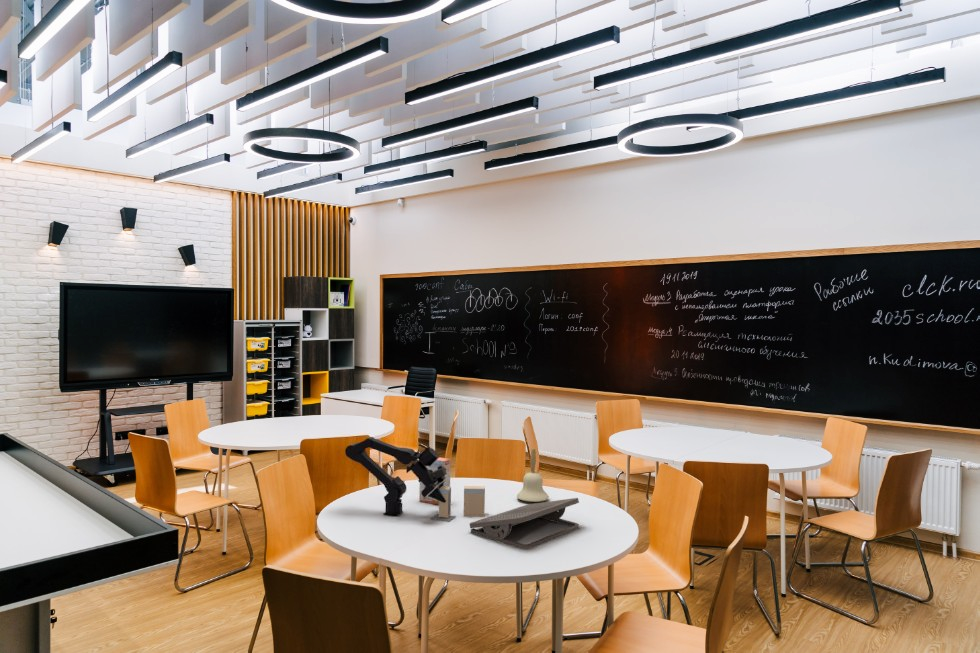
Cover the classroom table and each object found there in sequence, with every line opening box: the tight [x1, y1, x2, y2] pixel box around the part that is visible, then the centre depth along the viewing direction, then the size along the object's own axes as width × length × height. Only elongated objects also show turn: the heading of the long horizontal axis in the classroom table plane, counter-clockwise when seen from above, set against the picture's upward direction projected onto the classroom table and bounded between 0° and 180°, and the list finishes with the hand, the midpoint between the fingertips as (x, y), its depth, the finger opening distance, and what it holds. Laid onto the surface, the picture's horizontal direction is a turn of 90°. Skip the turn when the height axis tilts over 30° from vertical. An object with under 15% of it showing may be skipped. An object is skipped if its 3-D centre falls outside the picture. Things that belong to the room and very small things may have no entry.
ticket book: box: [463, 485, 486, 517], centre depth 277 cm, size 9×5×12 cm, turn 91°
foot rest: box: [469, 497, 580, 550], centre depth 258 cm, size 39×30×13 cm
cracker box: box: [418, 456, 452, 506], centre depth 295 cm, size 14×6×21 cm, turn 58°
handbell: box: [516, 447, 549, 503], centre depth 301 cm, size 15×15×25 cm
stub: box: [438, 486, 452, 518], centre depth 272 cm, size 4×5×12 cm
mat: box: [429, 513, 457, 523], centre depth 272 cm, size 9×7×1 cm
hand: (446, 500), depth 272 cm, fingers closed on stub, 4 cm apart
